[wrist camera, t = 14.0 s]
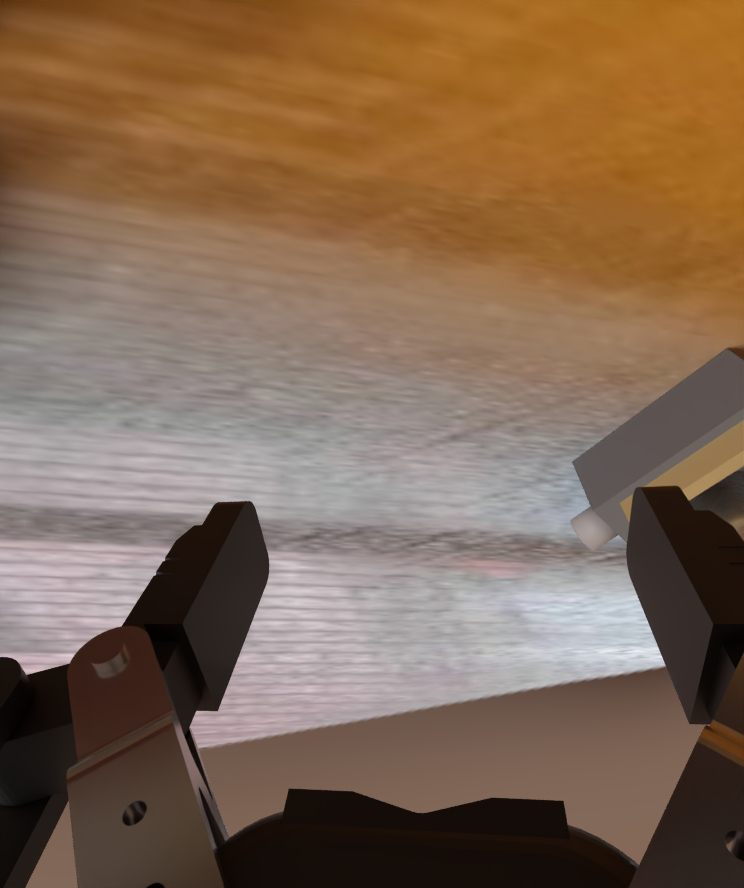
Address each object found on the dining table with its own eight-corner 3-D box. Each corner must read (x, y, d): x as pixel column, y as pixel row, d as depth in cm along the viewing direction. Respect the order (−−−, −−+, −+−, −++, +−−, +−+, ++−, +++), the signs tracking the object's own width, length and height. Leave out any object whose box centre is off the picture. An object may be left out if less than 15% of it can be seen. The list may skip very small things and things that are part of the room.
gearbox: (726, 348, 42) (809, 409, 33) (811, 449, 45) (909, 530, 36) (543, 482, 49) (569, 563, 40) (628, 561, 52) (670, 653, 43)
